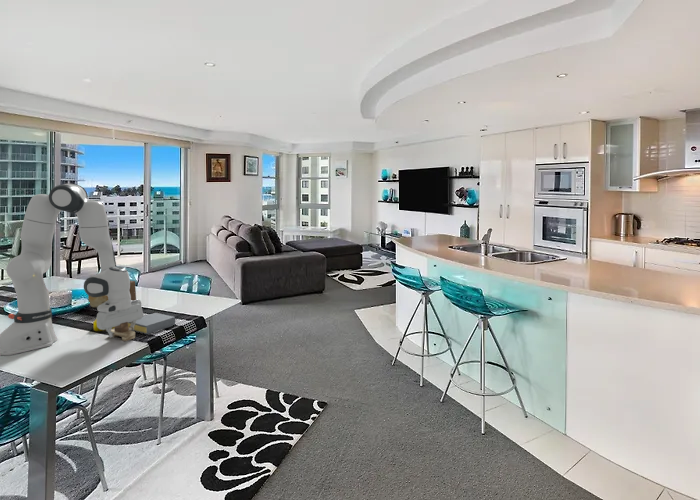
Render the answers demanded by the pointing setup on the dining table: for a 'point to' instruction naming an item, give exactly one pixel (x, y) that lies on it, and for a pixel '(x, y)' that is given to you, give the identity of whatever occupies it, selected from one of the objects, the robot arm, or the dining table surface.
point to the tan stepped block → (124, 335)
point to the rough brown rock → (97, 300)
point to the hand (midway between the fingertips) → (121, 333)
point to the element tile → (97, 327)
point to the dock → (153, 323)
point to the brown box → (122, 327)
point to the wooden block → (132, 290)
